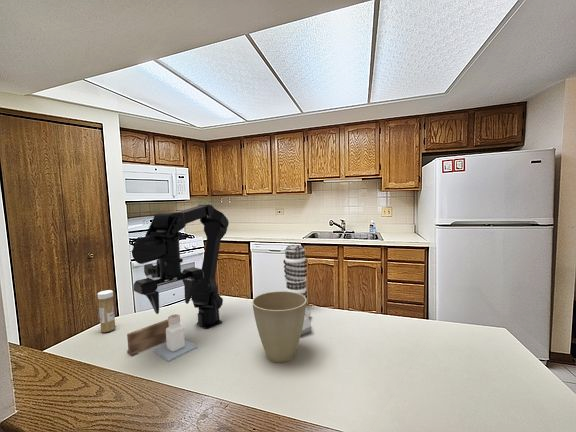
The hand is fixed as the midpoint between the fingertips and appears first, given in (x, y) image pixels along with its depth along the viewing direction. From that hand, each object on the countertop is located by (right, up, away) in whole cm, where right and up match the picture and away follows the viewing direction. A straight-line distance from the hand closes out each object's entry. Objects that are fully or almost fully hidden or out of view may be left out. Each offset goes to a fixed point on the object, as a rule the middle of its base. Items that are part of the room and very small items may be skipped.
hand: (172, 308), depth 83 cm
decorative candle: (+37, -10, +28) cm, 48 cm away
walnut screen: (-7, -12, +4) cm, 15 cm away
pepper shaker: (+1, -12, 0) cm, 12 cm away
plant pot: (+32, -12, -4) cm, 35 cm away
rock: (+34, -11, +14) cm, 38 cm away
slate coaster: (+1, -12, 0) cm, 12 cm away
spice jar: (-29, -13, +15) cm, 35 cm away
